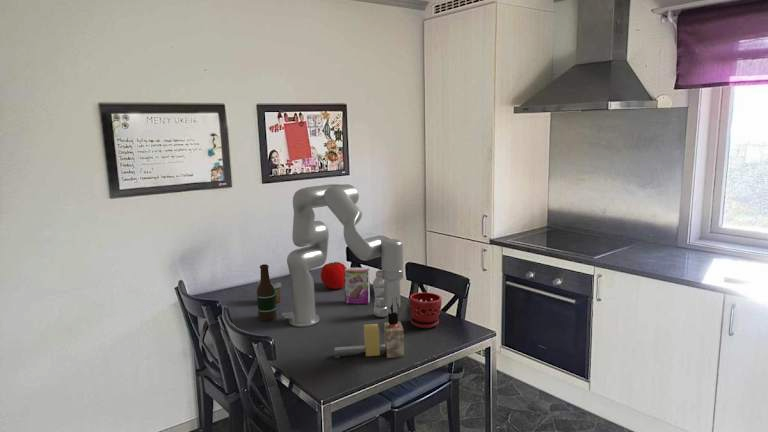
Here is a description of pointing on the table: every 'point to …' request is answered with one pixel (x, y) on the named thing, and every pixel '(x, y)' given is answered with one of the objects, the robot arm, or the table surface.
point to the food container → (277, 290)
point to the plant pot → (425, 309)
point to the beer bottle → (266, 297)
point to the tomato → (333, 275)
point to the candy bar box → (357, 286)
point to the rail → (356, 349)
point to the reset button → (393, 325)
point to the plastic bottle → (379, 296)
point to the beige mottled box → (394, 340)
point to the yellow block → (372, 339)
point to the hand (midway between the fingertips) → (393, 323)
